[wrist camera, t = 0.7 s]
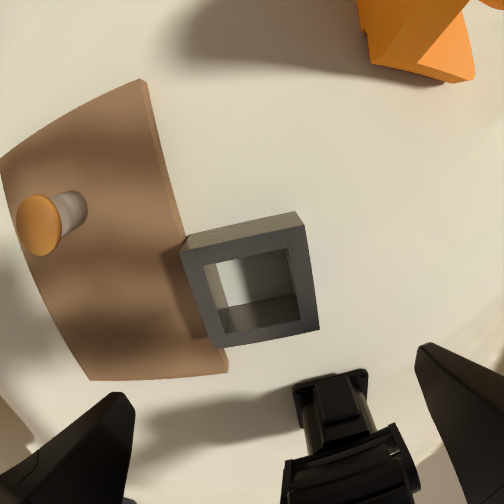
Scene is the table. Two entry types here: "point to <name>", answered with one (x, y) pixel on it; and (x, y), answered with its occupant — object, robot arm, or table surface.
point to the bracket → (420, 36)
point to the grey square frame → (258, 313)
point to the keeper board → (109, 241)
